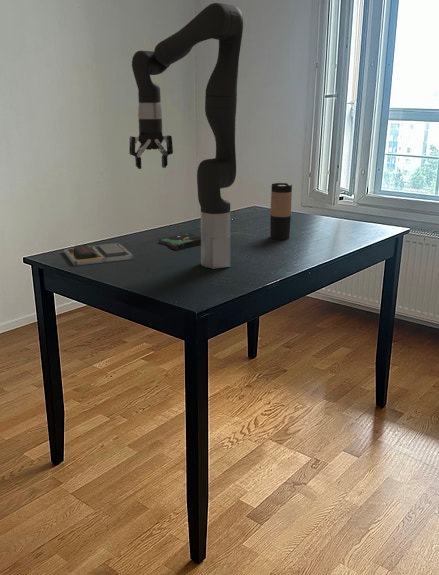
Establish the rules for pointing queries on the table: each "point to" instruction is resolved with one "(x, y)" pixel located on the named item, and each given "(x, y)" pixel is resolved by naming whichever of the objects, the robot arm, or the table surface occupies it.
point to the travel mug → (280, 211)
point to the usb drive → (84, 252)
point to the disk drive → (181, 241)
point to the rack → (99, 258)
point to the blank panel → (110, 250)
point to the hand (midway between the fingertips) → (151, 168)
